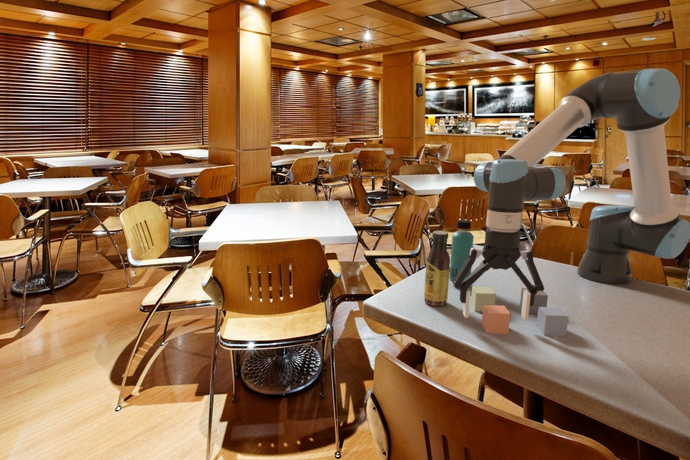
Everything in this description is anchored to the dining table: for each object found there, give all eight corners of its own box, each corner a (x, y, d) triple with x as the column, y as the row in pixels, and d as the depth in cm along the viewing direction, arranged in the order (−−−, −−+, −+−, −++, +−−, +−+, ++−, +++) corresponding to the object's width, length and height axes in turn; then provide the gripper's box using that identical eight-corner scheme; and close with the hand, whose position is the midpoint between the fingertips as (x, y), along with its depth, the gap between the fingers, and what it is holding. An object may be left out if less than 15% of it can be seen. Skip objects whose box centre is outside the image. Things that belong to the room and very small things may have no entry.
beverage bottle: (468, 282, 141) (473, 218, 136) (472, 289, 134) (477, 223, 130) (447, 281, 142) (451, 218, 137) (449, 288, 135) (454, 222, 131)
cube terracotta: (502, 325, 111) (504, 305, 110) (508, 334, 106) (510, 313, 105) (481, 324, 111) (483, 304, 110) (486, 333, 106) (488, 313, 105)
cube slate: (557, 327, 110) (560, 307, 109) (566, 336, 105) (568, 315, 104) (536, 326, 110) (538, 306, 109) (543, 335, 106) (546, 315, 104)
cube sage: (489, 304, 124) (491, 287, 122) (494, 312, 119) (495, 293, 118) (470, 304, 124) (472, 286, 123) (474, 311, 119) (476, 293, 118)
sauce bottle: (421, 299, 127) (424, 229, 122) (443, 298, 127) (447, 228, 123) (427, 308, 121) (431, 234, 116) (450, 307, 121) (455, 234, 117)
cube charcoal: (539, 306, 123) (540, 288, 122) (545, 313, 118) (547, 295, 117) (519, 305, 123) (521, 288, 122) (525, 313, 118) (527, 294, 117)
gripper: (449, 230, 100) (443, 320, 105) (566, 234, 99) (555, 325, 103) (444, 223, 108) (439, 308, 112) (553, 227, 106) (543, 312, 111)
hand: (494, 317), depth 108 cm, fingers open, 13 cm apart
